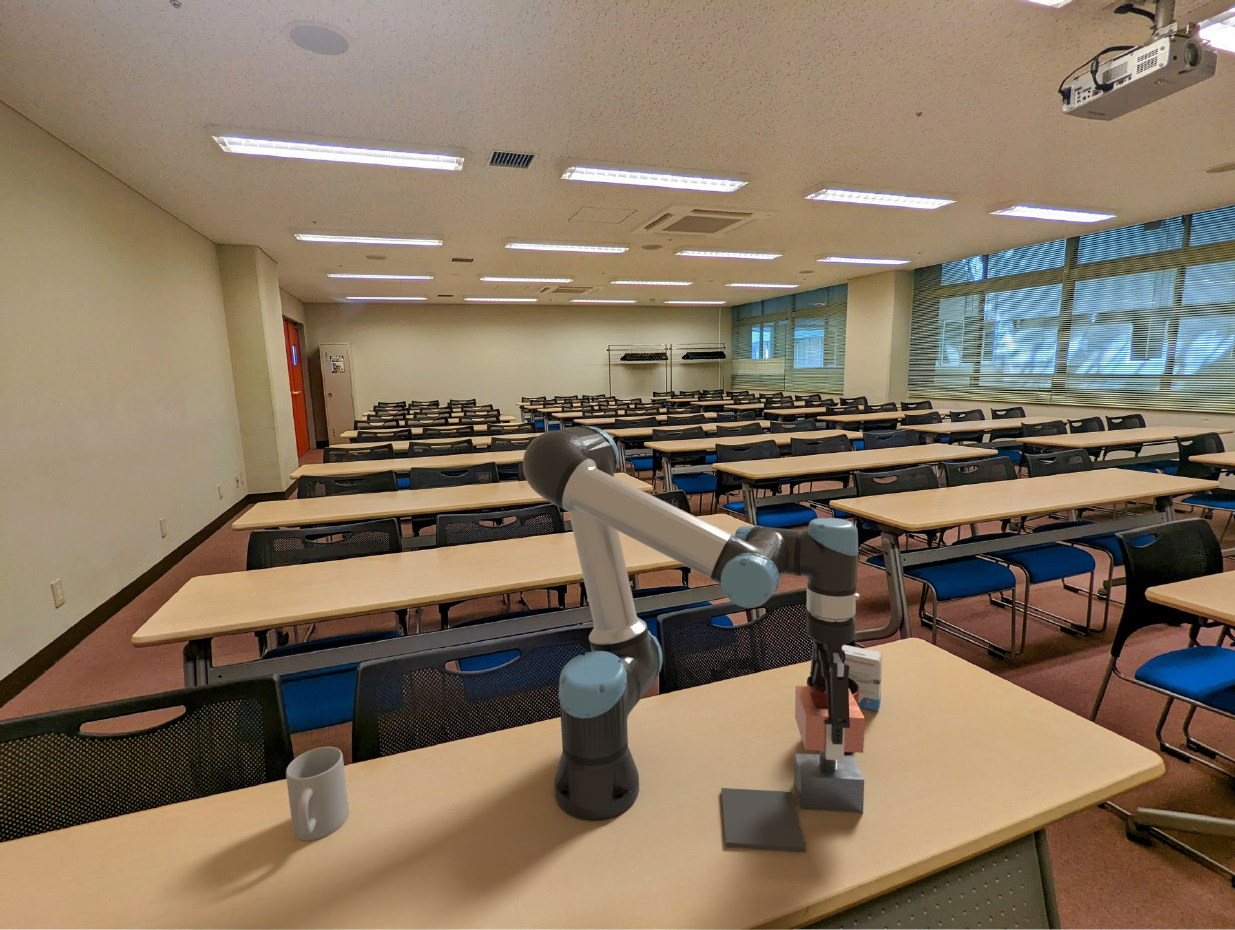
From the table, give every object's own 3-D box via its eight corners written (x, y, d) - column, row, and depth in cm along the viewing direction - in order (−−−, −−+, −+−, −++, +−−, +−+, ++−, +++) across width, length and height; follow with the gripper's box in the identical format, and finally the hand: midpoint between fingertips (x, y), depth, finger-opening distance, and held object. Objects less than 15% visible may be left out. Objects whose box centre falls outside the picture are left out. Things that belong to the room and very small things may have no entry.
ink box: (881, 701, 126) (883, 651, 124) (878, 712, 121) (879, 661, 120) (840, 691, 130) (842, 643, 128) (836, 701, 126) (837, 652, 124)
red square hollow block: (805, 749, 92) (806, 715, 91) (795, 717, 100) (795, 685, 100) (863, 752, 91) (864, 718, 90) (847, 719, 99) (848, 688, 99)
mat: (725, 847, 88) (725, 842, 87) (721, 792, 99) (721, 787, 99) (805, 852, 86) (805, 847, 86) (791, 796, 98) (791, 791, 98)
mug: (302, 808, 99) (295, 750, 98) (354, 799, 101) (348, 742, 99) (277, 863, 87) (268, 799, 86) (336, 852, 89) (329, 789, 88)
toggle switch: (800, 809, 95) (801, 737, 93) (794, 784, 101) (794, 716, 99) (863, 812, 93) (865, 740, 92) (852, 787, 99) (854, 718, 98)
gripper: (876, 644, 81) (870, 786, 84) (837, 589, 103) (833, 704, 106) (822, 642, 82) (818, 782, 85) (794, 589, 104) (792, 702, 107)
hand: (827, 739), depth 96 cm, fingers closed on red square hollow block, 9 cm apart
